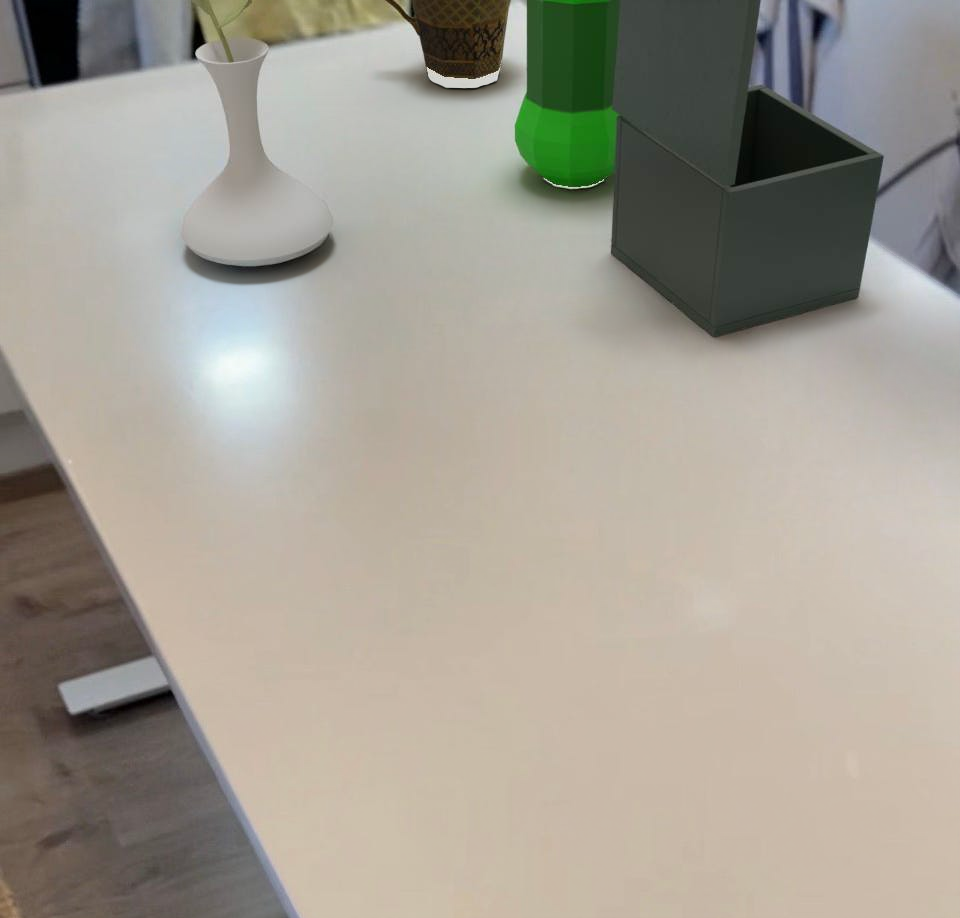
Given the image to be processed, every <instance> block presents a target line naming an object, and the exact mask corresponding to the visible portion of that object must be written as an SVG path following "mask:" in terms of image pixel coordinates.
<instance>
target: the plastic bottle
mask: <svg viewBox="0 0 960 918" xmlns="http://www.w3.org/2000/svg"><path fill="white" fill-rule="evenodd" d="M619 13H620V0H526V91H525V94H524V96H523V99H522V103H521V105H520V109H519V111H518V114H517V117H516V120H515V123H514V142H515V145H516V147H517V150H518V152H519V156H521V158H522V159H523V160H524V162H525V163H526V164H527V165H528V166H530V167H531V168H532V169H533V170H534V171H535V172H536V173H537V174H538V175H540V176H541V177H542V178H543V177H544V178H545V179H547V180H548V181H550V182H552V183H553V184H556V185H562V186H568V187H581V186H589V185H592V184H596V183H598V182H599V181H602V180H603V179H605V178H606V179H607V178H608V177H610V176H611V175H612V174H614V170H615V147H616V124H617V116H620V115H619V114H618V113H616V112H615V111H613V110H612V104H613V91H614V78H615V65H616V52H617V39H618V26H619ZM606 179H605V180H606Z"/></svg>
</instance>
